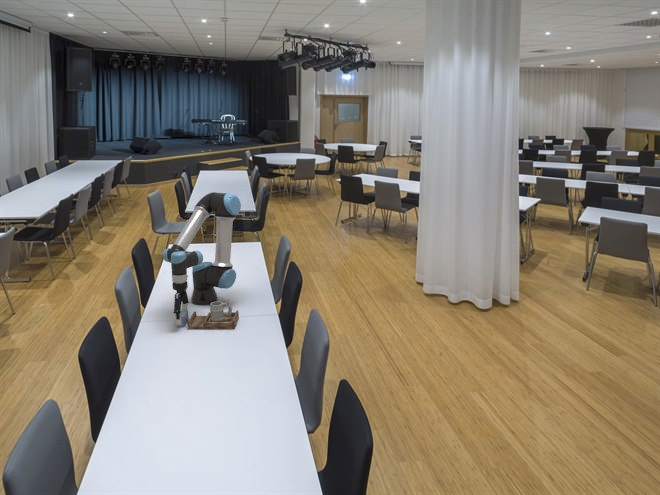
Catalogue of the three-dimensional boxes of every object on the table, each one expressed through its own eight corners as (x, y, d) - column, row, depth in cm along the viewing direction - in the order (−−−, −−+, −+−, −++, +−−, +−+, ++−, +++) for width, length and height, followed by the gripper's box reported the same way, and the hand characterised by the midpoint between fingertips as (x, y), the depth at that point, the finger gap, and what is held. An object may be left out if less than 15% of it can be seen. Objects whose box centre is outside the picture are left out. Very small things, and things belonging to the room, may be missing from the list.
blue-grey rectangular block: (184, 327, 286) (183, 316, 285) (176, 327, 286) (176, 316, 285) (188, 320, 295) (188, 310, 294) (181, 320, 295) (180, 310, 294)
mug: (209, 319, 293) (207, 298, 290) (231, 316, 297) (230, 295, 294) (211, 324, 286) (209, 302, 283) (233, 321, 290) (232, 300, 287)
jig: (188, 329, 284) (187, 321, 282) (194, 318, 298) (194, 310, 297) (234, 329, 284) (234, 321, 283) (238, 318, 298) (238, 310, 297)
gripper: (181, 289, 273) (183, 328, 278) (192, 274, 297) (194, 311, 302) (165, 288, 273) (168, 328, 278) (178, 274, 297) (180, 311, 302)
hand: (182, 320), depth 290 cm, fingers open, 13 cm apart
